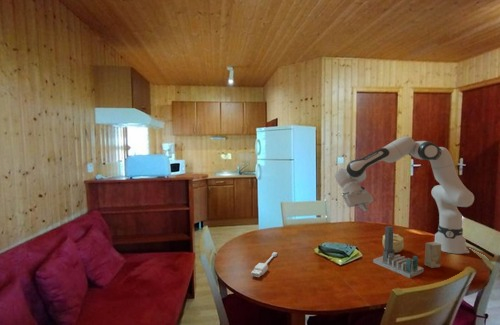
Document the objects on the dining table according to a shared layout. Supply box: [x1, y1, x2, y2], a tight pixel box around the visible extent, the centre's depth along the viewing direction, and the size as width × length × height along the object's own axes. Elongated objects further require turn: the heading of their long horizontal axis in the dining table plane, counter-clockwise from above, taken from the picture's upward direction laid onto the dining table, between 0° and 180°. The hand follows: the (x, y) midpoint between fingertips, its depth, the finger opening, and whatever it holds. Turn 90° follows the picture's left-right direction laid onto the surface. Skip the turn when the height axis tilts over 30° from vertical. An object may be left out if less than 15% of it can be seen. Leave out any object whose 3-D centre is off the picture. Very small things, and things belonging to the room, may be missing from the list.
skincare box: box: [424, 241, 442, 269], centre depth 142 cm, size 6×4×12 cm
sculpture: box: [382, 232, 405, 253], centre depth 163 cm, size 12×12×11 cm
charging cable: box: [250, 251, 278, 278], centre depth 146 cm, size 5×32×3 cm, turn 156°
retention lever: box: [384, 225, 394, 255], centre depth 145 cm, size 2×4×15 cm, turn 119°
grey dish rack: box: [372, 249, 425, 279], centre depth 141 cm, size 20×12×8 cm, turn 29°
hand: (366, 210), depth 156 cm, fingers closed
